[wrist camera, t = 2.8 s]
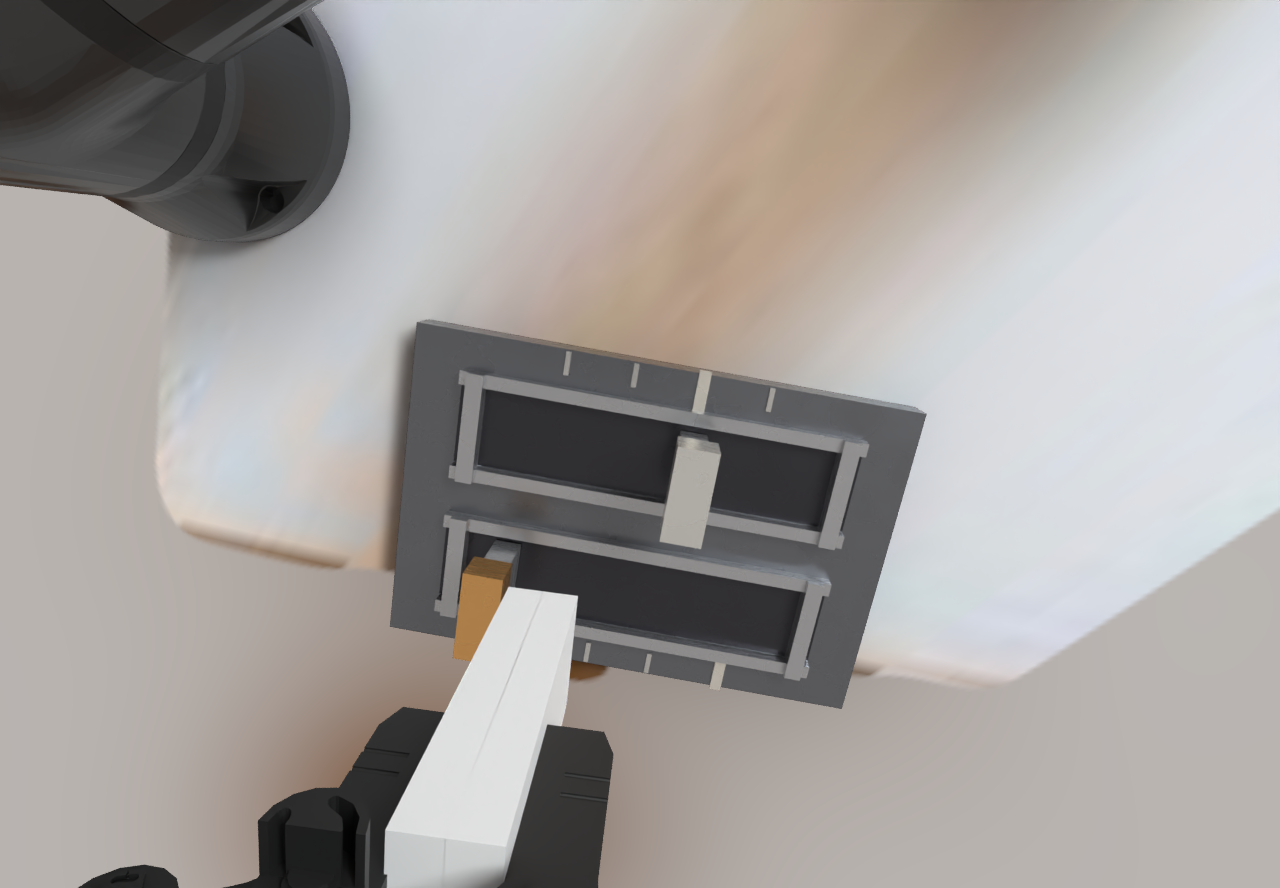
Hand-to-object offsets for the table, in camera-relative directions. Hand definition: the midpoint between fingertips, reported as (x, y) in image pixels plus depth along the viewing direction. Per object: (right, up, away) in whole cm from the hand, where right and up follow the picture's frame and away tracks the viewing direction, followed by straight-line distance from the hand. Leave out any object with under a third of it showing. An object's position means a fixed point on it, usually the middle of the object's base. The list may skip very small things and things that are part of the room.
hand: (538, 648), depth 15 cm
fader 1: (-6, -4, +29) cm, 30 cm away
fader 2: (+5, +3, +26) cm, 27 cm away
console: (+2, 0, +30) cm, 30 cm away
